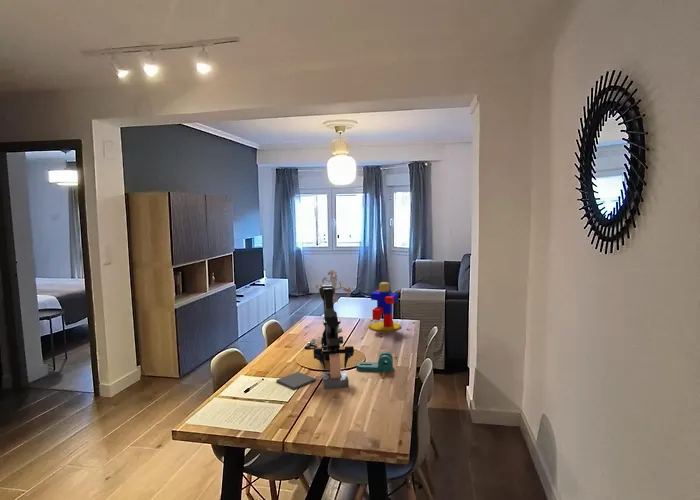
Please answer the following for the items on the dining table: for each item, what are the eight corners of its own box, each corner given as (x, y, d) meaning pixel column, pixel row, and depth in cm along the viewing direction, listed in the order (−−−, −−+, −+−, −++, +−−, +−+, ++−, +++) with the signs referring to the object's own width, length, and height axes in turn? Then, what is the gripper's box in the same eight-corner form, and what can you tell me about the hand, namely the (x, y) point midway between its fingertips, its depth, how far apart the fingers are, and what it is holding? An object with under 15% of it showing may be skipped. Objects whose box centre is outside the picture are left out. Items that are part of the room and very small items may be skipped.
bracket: (392, 367, 218) (392, 352, 218) (392, 372, 212) (391, 356, 211) (357, 366, 221) (357, 351, 220) (355, 371, 214) (355, 355, 214)
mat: (298, 373, 212) (297, 371, 212) (315, 380, 203) (315, 378, 203) (276, 381, 203) (276, 379, 203) (294, 389, 194) (293, 387, 194)
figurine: (405, 324, 294) (404, 280, 291) (395, 333, 274) (394, 286, 271) (375, 321, 303) (374, 279, 299) (363, 330, 283) (362, 284, 280)
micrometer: (314, 350, 247) (314, 346, 246) (303, 349, 249) (303, 345, 248) (324, 342, 261) (323, 338, 261) (312, 341, 263) (312, 337, 263)
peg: (330, 381, 202) (329, 354, 200) (339, 381, 202) (338, 353, 201) (331, 385, 197) (330, 357, 196) (340, 384, 198) (339, 357, 197)
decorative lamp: (352, 337, 267) (351, 273, 263) (314, 338, 268) (312, 274, 264) (352, 325, 295) (351, 266, 291) (318, 325, 295) (316, 267, 291)
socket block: (322, 379, 205) (322, 372, 204) (345, 377, 206) (345, 370, 206) (324, 389, 194) (324, 381, 193) (348, 387, 195) (348, 379, 195)
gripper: (313, 331, 201) (314, 363, 191) (353, 329, 203) (356, 360, 193) (312, 342, 209) (314, 373, 199) (351, 340, 211) (354, 370, 202)
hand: (335, 369), depth 198 cm, fingers open, 9 cm apart
